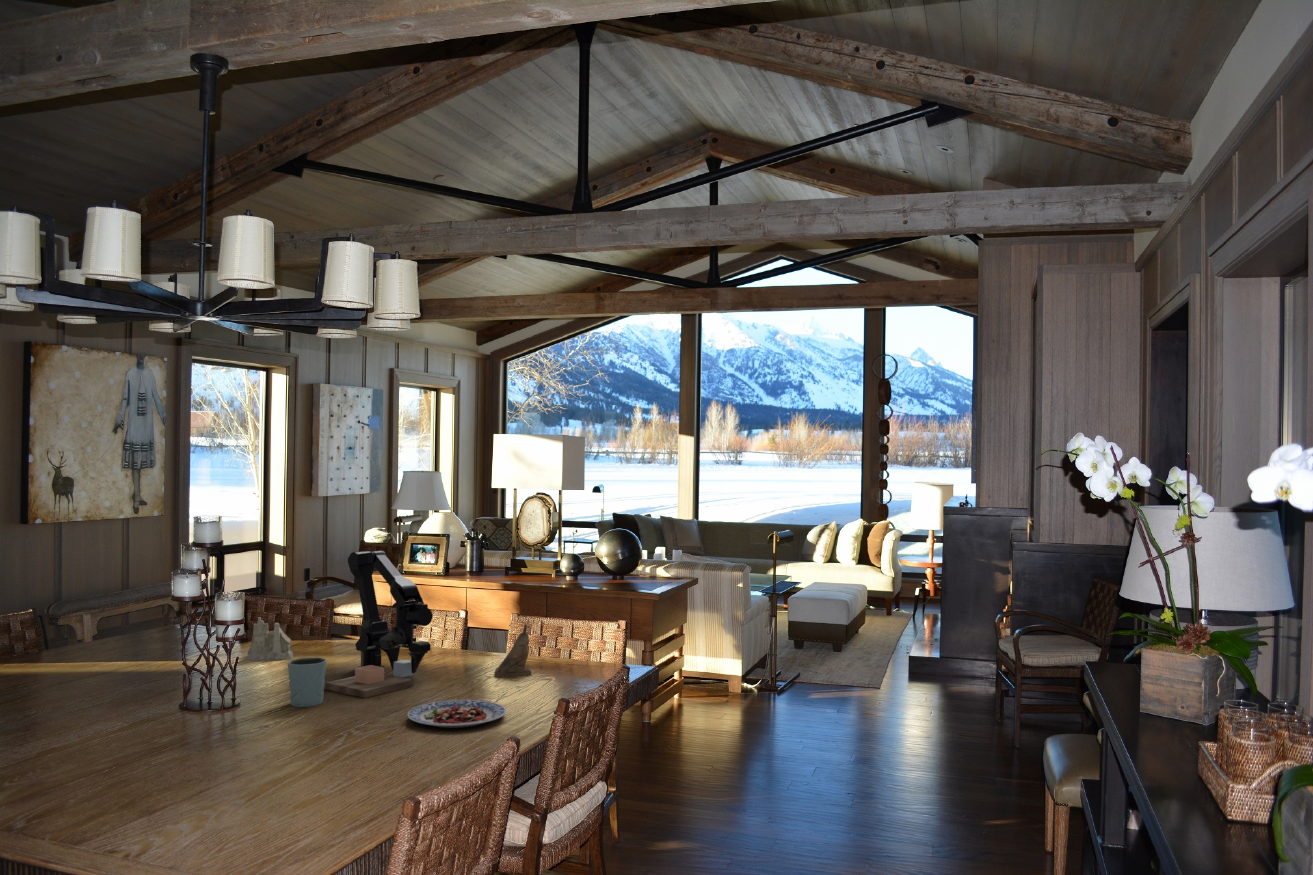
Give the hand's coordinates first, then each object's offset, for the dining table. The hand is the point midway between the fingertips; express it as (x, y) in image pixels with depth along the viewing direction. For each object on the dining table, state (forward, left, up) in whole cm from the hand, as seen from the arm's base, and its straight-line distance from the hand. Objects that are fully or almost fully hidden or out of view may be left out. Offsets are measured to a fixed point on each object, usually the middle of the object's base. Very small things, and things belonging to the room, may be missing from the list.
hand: (403, 671), depth 299 cm
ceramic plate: (+52, -28, -2) cm, 59 cm away
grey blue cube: (0, 0, -1) cm, 1 cm away
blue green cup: (+6, -41, -2) cm, 41 cm away
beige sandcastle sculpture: (-60, -7, -2) cm, 60 cm away
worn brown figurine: (+28, +21, -2) cm, 35 cm away
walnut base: (+5, -18, -1) cm, 19 cm away
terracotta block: (+5, -18, +1) cm, 19 cm away
